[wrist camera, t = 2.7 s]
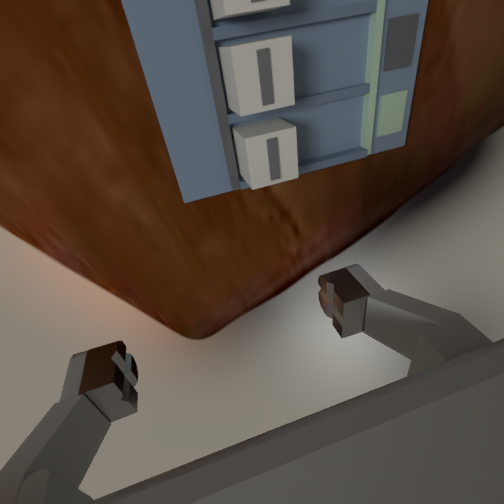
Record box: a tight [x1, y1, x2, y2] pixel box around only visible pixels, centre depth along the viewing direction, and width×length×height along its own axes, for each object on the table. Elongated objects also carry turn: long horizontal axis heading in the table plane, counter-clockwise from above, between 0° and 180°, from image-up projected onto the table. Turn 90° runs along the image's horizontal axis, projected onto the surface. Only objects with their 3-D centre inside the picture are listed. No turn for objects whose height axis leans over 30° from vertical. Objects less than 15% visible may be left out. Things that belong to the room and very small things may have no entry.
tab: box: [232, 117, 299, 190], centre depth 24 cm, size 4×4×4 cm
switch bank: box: [121, 0, 428, 203], centre depth 23 cm, size 23×18×2 cm
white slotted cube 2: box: [218, 36, 295, 117], centre depth 21 cm, size 4×4×4 cm
